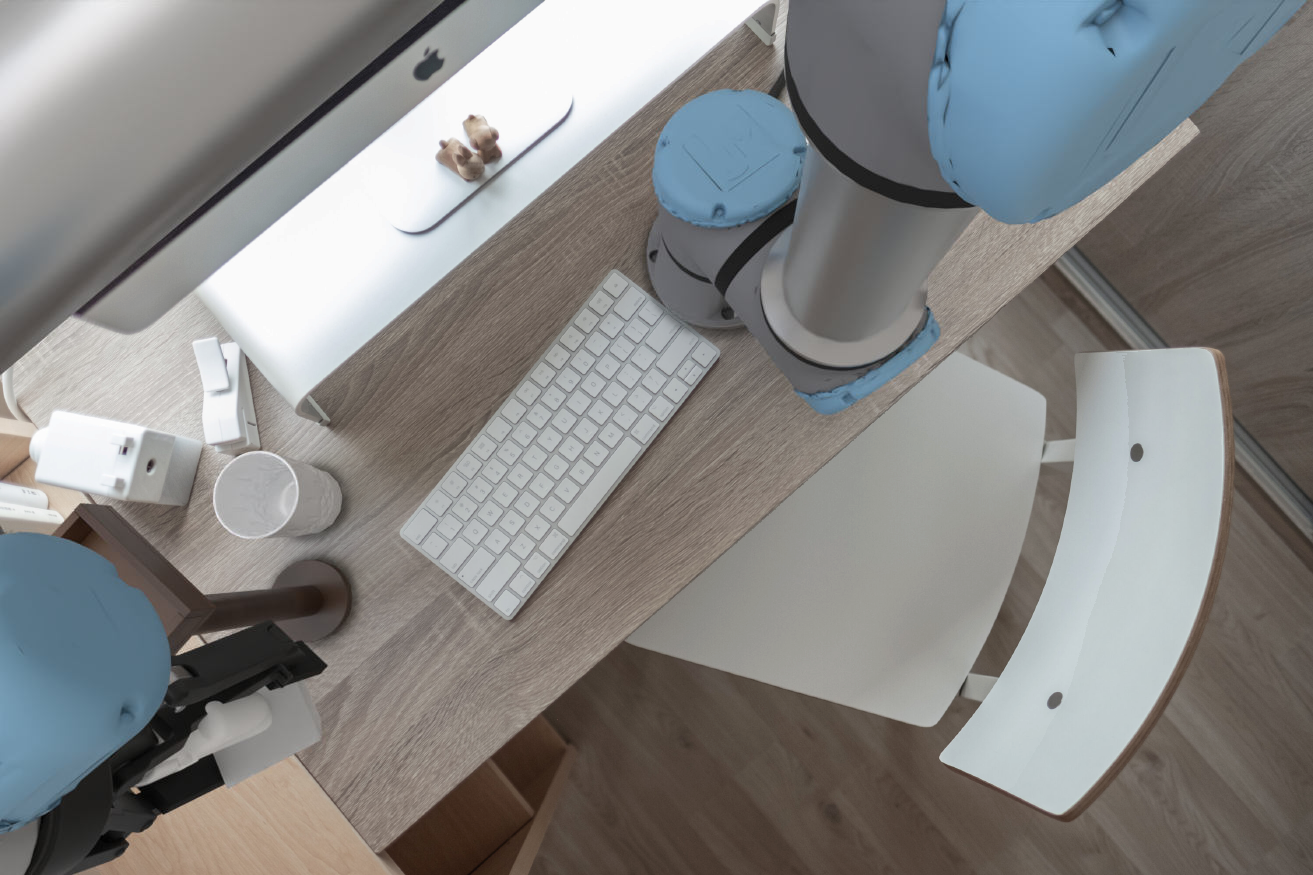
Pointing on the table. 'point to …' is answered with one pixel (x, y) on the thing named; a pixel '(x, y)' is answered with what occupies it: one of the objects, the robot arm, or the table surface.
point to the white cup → (274, 497)
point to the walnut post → (288, 603)
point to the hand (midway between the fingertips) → (264, 710)
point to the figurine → (248, 734)
